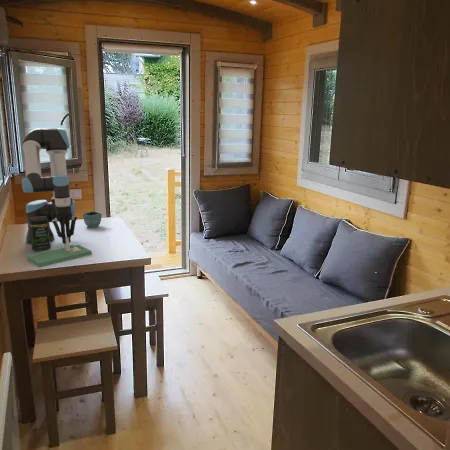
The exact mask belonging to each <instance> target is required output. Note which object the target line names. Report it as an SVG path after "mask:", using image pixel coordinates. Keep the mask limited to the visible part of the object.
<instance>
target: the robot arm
mask: <svg viewBox="0 0 450 450" xmlns="http://www.w3.org/2000/svg"><path fill="white" fill-rule="evenodd" d="M21 147H22V151H23V152H24V165H25V169H24V170H25V177H24V178H22V179H21V187H22V191H23V193H24V194H25V193H30V194H31V193H42V192H43V193H45V192H52V195H53V196H52V197H51V198H50V202H48V200H47V199H38V200H37V199H36V200H33V201H30V202H28V203H27V204H26V205H25V213H26V223H27V232H26V236H25V237H26V238H25V239H26V240H25V241H26V243H27V244H30V245H32V231H31V227H30V225H29V223H30V217H38V216H46V217H47V219H48V222H49V224H48V234H49V239H50V243H51V242H53V241H55V235H54V233H53V230H52V228H51V225H50V223H52V224H53V226H54V228H55V231H56V234H57V237H59V238H61V240H62V244H63V246H64V248H65V249H66V250H69V249H70V243H71V241H72V240H71V238H72V236H74V234H75V229H76V228H75V227H76V222H77V219H78V217H77V216H76V200H73V197H72V196H71V194H70V192H71V191H70V190H71V189H70V179H69V176H68V170H67V161H66V154H67V153H68V149H70V141H69V137H68V134H67V131H66V130H65V129H64V128H58V127H57V128H56V127H55V128H52V127H51V128H35V129H32V130H30V131H29V132H28V133H26V135H25V136H24V137H23V138H22V143H21ZM41 150H45V152H46V154H47V155H49V164H50V173H51V174H50V176H44V177H43V176H42V167H41V156H40V151H41ZM58 222H59V224H58Z"/></svg>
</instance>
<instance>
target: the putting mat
mask: <svg viewBox="0 0 450 450" xmlns="http://www.w3.org/2000/svg"><path fill="white" fill-rule="evenodd" d="M69 247H70V249H69V250H66V249H65V247H61V248H56V249H51V250H46V251H41V252H39V253H34V254H33V253H32V254H30V255H26V259H27V261H29V262H30V263H32V264H33V265H34V266H36V267H38V268H42V267H45V266H49V265H54V264H57V263H62V262H66V261H70V260H74V259H78V258H81V257H87V256H91V255H92V254H93V253H92V250H91V249H88V248H87V247H84V246H83V245H81V244H75V245H71V246H70V245H69ZM74 247H78V248H79V250H78V251H74V252H72V249H73V248H74Z"/></svg>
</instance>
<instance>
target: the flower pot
mask: <svg viewBox="0 0 450 450" xmlns="http://www.w3.org/2000/svg"><path fill="white" fill-rule="evenodd" d="M82 218H83V222H84V224H85V225H86V226H87V228H92V229H93V228H96V227H97V228H98V227H99V226H100V224H101V222H102V212H98V211H89V212H86V213H82Z"/></svg>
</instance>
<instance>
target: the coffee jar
mask: <svg viewBox="0 0 450 450" xmlns="http://www.w3.org/2000/svg"><path fill="white" fill-rule="evenodd" d="M48 224H50V222H48V219H47V217H46V216H38V217H30V223H29V225H30V227H31V231H32V244H31V250H32V251H34V252H45V251H50V249H51V242H50V239H49V234H48Z"/></svg>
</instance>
